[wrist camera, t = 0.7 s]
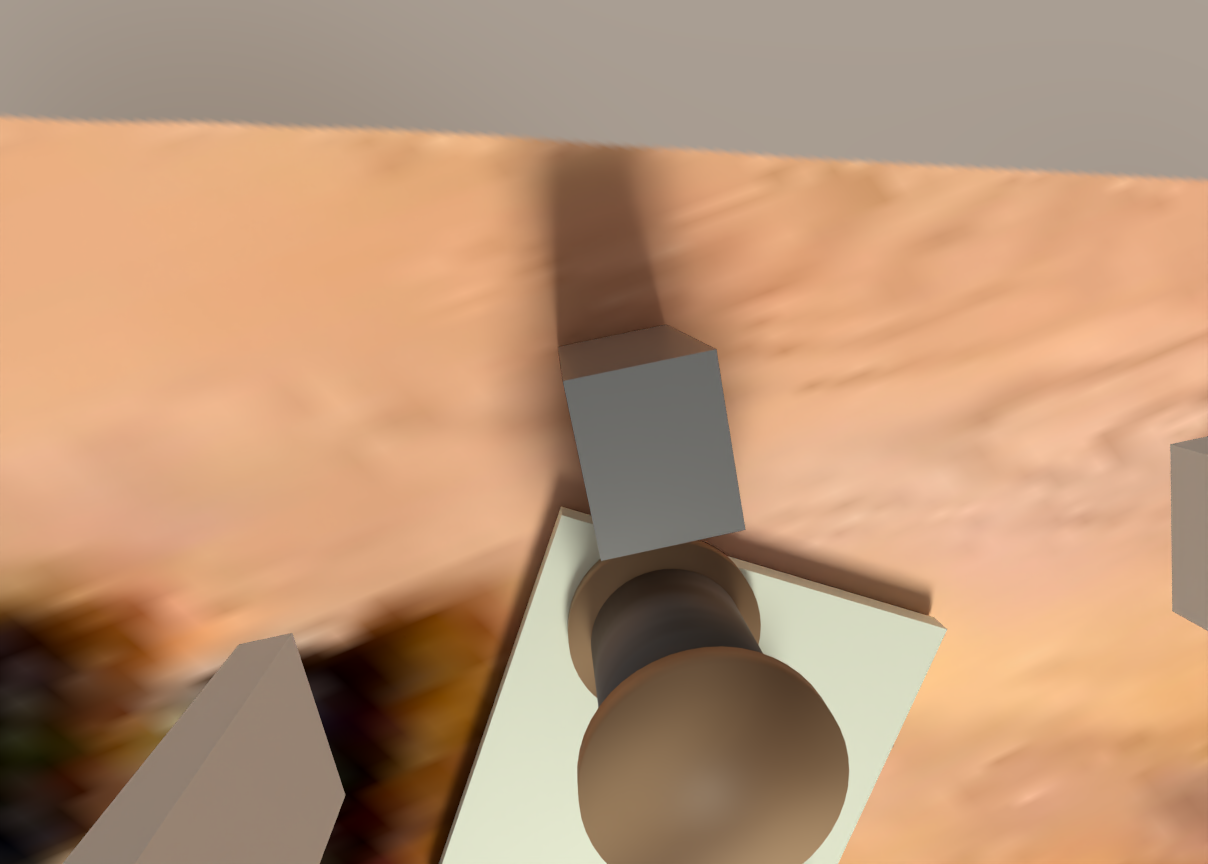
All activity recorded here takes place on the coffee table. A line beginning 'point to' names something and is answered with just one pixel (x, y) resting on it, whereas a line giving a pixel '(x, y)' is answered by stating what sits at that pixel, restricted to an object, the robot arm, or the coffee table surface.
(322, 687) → the coffee table surface
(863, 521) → the coffee table surface
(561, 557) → the board
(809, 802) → the bobbin
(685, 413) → the gray rectangular block
